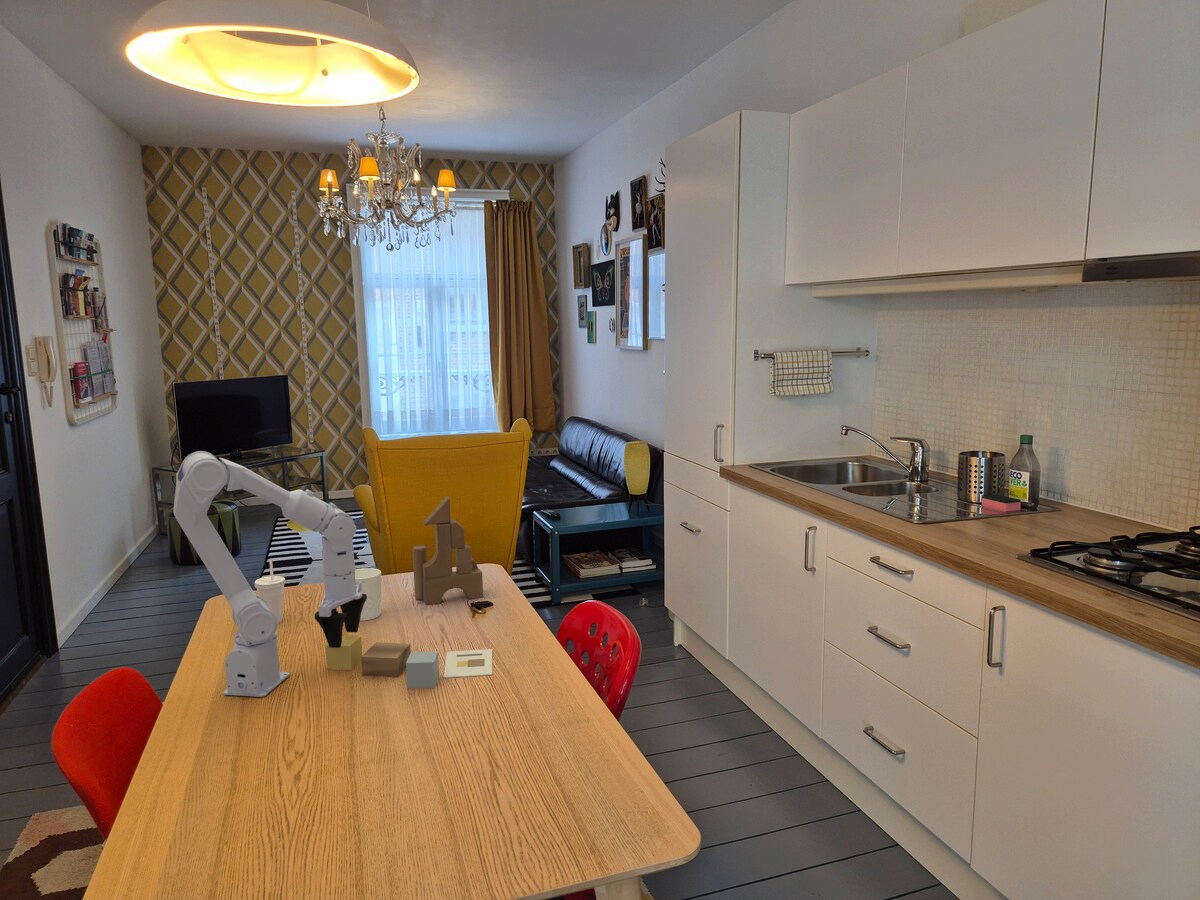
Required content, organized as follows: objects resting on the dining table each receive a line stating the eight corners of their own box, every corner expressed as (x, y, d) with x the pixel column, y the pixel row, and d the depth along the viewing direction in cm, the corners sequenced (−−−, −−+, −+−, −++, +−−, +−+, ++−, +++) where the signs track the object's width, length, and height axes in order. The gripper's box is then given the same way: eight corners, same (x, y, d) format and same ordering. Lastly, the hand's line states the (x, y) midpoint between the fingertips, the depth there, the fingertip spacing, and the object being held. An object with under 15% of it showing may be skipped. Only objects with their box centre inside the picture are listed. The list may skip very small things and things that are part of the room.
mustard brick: (351, 670, 157) (350, 645, 156) (326, 669, 158) (325, 644, 157) (362, 660, 162) (361, 636, 161) (338, 659, 163) (336, 634, 162)
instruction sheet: (492, 675, 154) (492, 673, 154) (443, 678, 153) (443, 676, 153) (492, 649, 166) (492, 648, 166) (447, 652, 165) (447, 651, 165)
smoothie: (281, 627, 180) (276, 565, 178) (252, 627, 180) (247, 565, 178) (292, 616, 186) (288, 556, 184) (264, 616, 186) (260, 557, 184)
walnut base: (397, 678, 154) (397, 658, 153) (362, 676, 155) (361, 656, 154) (411, 663, 161) (410, 643, 160) (377, 661, 162) (376, 642, 161)
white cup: (340, 620, 184) (337, 576, 182) (360, 608, 191) (357, 566, 190) (371, 623, 181) (368, 579, 180) (389, 611, 189) (387, 569, 187)
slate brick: (435, 688, 149) (433, 662, 149) (407, 689, 149) (406, 663, 148) (439, 676, 154) (438, 651, 154) (412, 677, 154) (411, 652, 153)
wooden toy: (476, 589, 204) (473, 490, 200) (483, 597, 198) (479, 495, 194) (413, 597, 198) (409, 496, 194) (418, 606, 192) (413, 501, 188)
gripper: (342, 584, 149) (347, 655, 152) (374, 561, 164) (378, 626, 166) (305, 583, 150) (311, 653, 153) (340, 560, 165) (345, 624, 167)
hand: (343, 639), depth 159 cm, fingers open, 7 cm apart
